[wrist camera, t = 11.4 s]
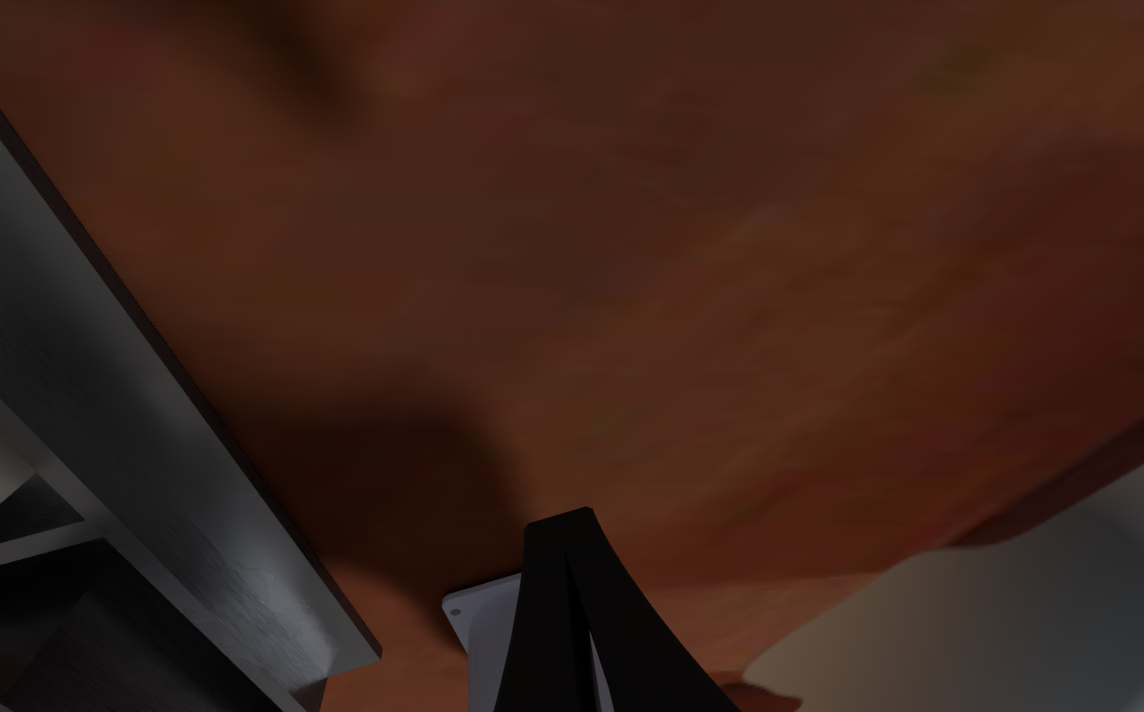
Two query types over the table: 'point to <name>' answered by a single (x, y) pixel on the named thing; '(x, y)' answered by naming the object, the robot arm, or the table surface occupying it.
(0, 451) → the panel
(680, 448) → the table surface
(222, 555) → the drive rack
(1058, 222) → the table surface
